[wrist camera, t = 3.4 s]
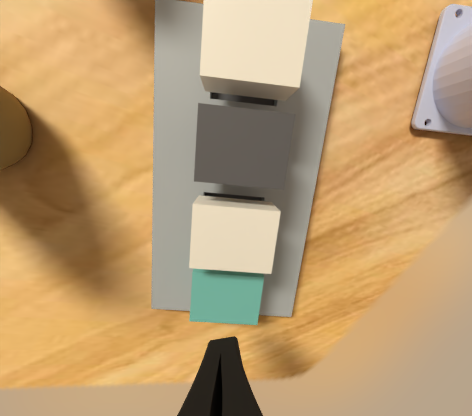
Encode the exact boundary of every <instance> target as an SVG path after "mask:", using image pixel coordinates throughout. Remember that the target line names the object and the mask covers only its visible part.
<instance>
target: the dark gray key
mask: <svg viewBox="0 0 472 416" xmlns="http://www.w3.org/2000/svg"><path fill="white" fill-rule="evenodd" d="M294 121H295V114H290V113H281V112H272V111H264V110H255V109H247V108H238V107H229V106H221V105H212V104H203V103H198V114H197V132H196V151H195V169H194V182H205V183H216V184H226V185H237V186H247V187H258V188H268V189H279V190H284V187H285V180H286V174H287V167H288V161H289V154H290V147H291V141H292V134H293V128H294Z"/></svg>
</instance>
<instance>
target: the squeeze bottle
mask: <svg viewBox="0 0 472 416" xmlns="http://www.w3.org/2000/svg"><path fill="white" fill-rule="evenodd" d="M31 143H32V126H31V123H30V120H29V118H28V115H27V112H26V110H25V109H24V107H23V106H22V105H21V104H20V102H19V101H18V100H17V99H16V97H15V96H14V95H13V94H11V93H10V92H8V91H7V90H5V89H4V88H2V87H1V86H0V170H2V169H4V168H6V167H9V166H11V165H13V164H15V163H16V162H17V161H19V160H20V159H22V158H23V157H24V156H25V155H26V153H27V151H28V149H29V147H30V145H31Z"/></svg>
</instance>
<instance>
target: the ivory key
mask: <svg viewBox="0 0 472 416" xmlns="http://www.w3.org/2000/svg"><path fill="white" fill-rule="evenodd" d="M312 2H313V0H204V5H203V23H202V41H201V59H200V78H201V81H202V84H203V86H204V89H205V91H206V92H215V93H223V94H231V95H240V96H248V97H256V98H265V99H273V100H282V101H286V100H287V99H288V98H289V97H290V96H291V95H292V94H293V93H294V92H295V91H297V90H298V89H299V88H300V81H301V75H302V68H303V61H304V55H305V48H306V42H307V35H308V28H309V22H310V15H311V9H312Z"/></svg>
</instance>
